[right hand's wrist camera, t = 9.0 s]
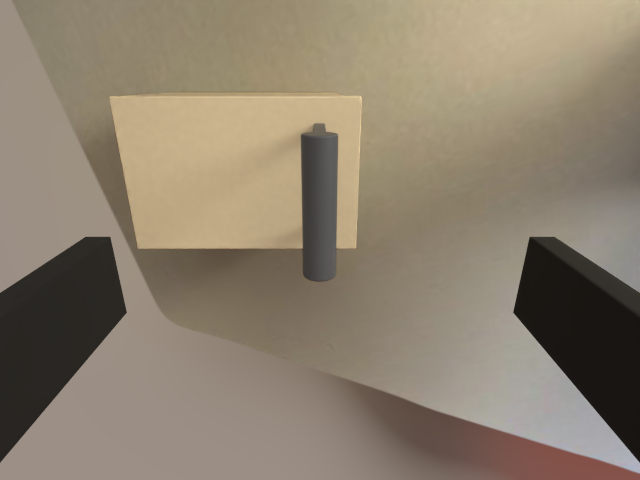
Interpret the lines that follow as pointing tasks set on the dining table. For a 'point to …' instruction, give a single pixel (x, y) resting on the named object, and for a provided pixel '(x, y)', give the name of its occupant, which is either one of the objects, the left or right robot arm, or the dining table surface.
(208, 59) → the dining table surface
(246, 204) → the lid
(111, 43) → the dining table surface
